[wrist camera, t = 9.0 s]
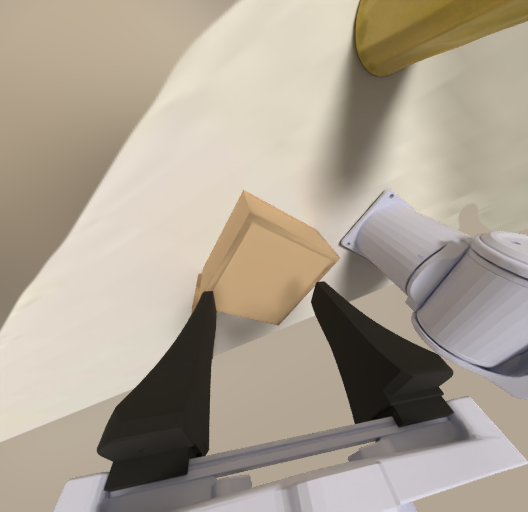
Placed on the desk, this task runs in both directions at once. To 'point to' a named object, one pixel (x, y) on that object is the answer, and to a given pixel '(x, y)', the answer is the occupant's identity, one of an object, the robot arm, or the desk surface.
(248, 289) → the carton
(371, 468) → the robot arm
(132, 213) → the desk surface
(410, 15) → the vase
